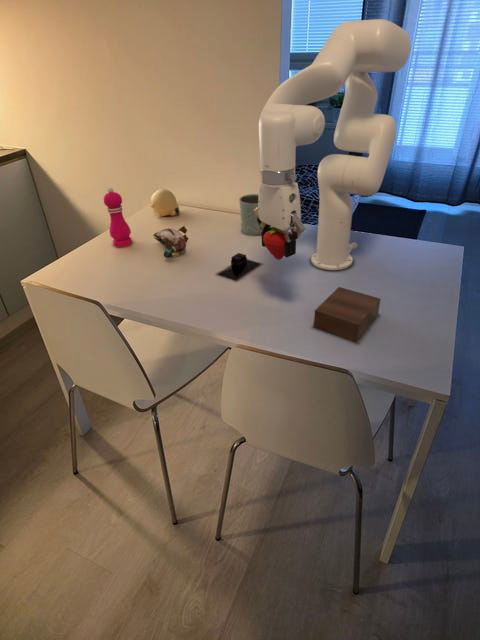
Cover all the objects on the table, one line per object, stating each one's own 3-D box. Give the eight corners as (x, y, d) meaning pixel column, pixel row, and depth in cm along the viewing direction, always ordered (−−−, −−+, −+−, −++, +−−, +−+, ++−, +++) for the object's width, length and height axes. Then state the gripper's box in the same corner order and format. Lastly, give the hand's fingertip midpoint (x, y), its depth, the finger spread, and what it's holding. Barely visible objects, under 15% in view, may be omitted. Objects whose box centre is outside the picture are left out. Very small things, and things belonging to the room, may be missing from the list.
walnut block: (337, 303, 108) (338, 286, 105) (377, 315, 103) (380, 298, 100) (313, 327, 100) (314, 310, 97) (356, 342, 94) (358, 324, 91)
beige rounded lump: (169, 227, 168) (186, 207, 165) (145, 208, 161) (163, 188, 159) (166, 218, 176) (183, 199, 173) (144, 200, 169) (160, 180, 166)
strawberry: (287, 268, 97) (287, 228, 91) (259, 262, 100) (257, 223, 94) (297, 257, 101) (298, 218, 95) (269, 252, 104) (269, 214, 98)
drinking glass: (242, 225, 156) (241, 194, 149) (269, 225, 155) (269, 193, 148) (239, 236, 148) (237, 203, 141) (267, 236, 146) (266, 203, 140)
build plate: (236, 281, 121) (235, 267, 118) (217, 274, 125) (215, 261, 122) (260, 264, 129) (259, 250, 126) (241, 258, 133) (241, 245, 130)
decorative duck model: (174, 248, 127) (133, 241, 132) (177, 268, 132) (138, 261, 137) (195, 225, 137) (156, 220, 142) (198, 245, 142) (160, 239, 147)
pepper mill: (137, 241, 149) (125, 186, 137) (122, 249, 144) (109, 192, 132) (123, 238, 152) (110, 183, 141) (108, 245, 147) (94, 189, 136)
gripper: (319, 179, 85) (315, 256, 95) (264, 164, 96) (266, 235, 107) (293, 188, 81) (292, 267, 92) (239, 172, 93) (244, 244, 103)
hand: (278, 249), depth 99 cm, fingers closed on strawberry, 7 cm apart
